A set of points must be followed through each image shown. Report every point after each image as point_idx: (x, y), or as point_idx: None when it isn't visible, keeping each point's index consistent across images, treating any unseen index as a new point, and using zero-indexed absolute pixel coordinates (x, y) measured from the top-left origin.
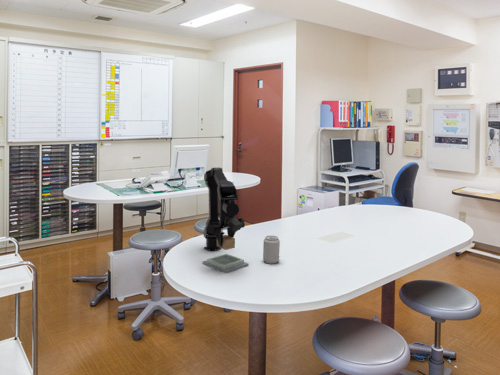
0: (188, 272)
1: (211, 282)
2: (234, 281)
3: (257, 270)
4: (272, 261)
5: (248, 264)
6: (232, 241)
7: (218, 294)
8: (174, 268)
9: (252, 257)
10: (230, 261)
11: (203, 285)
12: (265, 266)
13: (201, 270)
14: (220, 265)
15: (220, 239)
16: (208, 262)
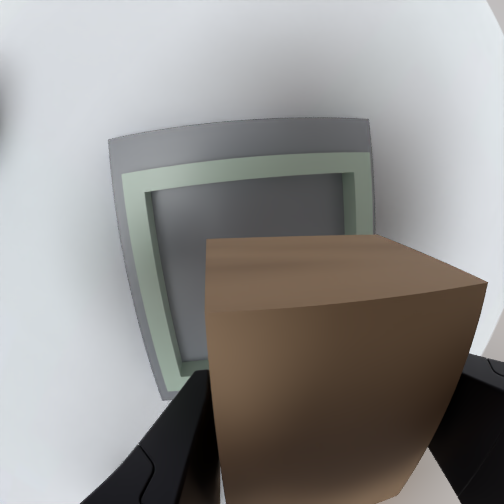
0: (475, 276)
1: (470, 90)
2: (381, 5)
3: (131, 30)
4: None
5: (111, 140)
6: (289, 274)
7: (479, 3)
8: (469, 351)
9: (6, 279)
10: (204, 272)
11: (498, 97)
12: (37, 73)
13: None
14: (367, 201)
15: (494, 365)
16: None
